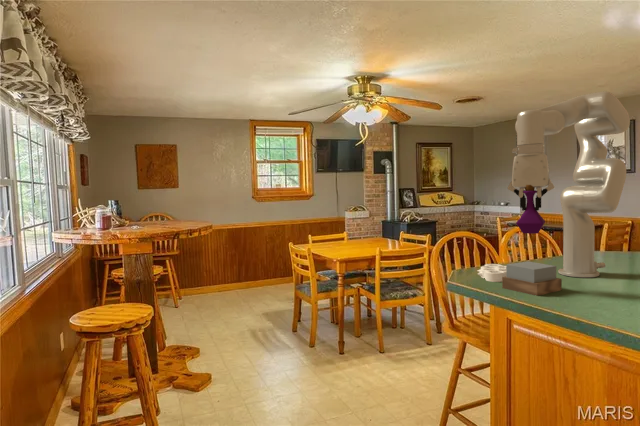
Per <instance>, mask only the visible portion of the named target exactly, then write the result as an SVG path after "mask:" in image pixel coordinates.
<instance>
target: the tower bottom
mask: <svg viewBox="0 0 640 426" xmlns="http://www.w3.org/2000/svg"><path fill="white" fill-rule="evenodd" d="M562 280H563V279H562V278H560V277H556V279H553V280H548V281H542V282H536V283H532V282H527V281H523V280H518V279H513V278H508V277H502V282H501V285H502V289H504V290H509V291H514V292H519V293H522V294H526V295H532V296H535V295H536V296H535V297H537V296H538V297H539V296H542V295H548V294H550V293H555V292H559V291H562V282H563V281H562Z"/></svg>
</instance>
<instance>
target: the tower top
mask: <svg viewBox="0 0 640 426" xmlns="http://www.w3.org/2000/svg"><path fill="white" fill-rule="evenodd" d="M505 266H506V277H508V278H513V279H518V280H523V281H527V282H532V283H536V282H542V281H548V280H553V279H556V278H557V265H552V264H547V263H539V262H534V261H522V262H515V263H507V264H506V265H505Z"/></svg>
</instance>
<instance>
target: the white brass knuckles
mask: <svg viewBox="0 0 640 426" xmlns="http://www.w3.org/2000/svg"><path fill="white" fill-rule="evenodd" d="M477 272H478V273H477V275H478V276H480V278H482V279H484V278H485V281H486V282H493V283H502V277H506V265H502V264H497V263H486V264H484V265H482V266H480V269H478V270H477Z"/></svg>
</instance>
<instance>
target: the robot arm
mask: <svg viewBox="0 0 640 426" xmlns="http://www.w3.org/2000/svg"><path fill="white" fill-rule="evenodd" d="M630 118H631V117H630V115H629V112H628V110H627V109H626V108H625V107H624V105H623V104H622V102H621V101H620V100H619V98H617V96H616V95H614V94H613V93H611V92H610V91H607V90H604V91H598V92H593V93H592V92H591V93H587V94H582V95H581V94H580V95H578V96H574V97H572V98H568V99H566V100H563V101H561V102H557V103H555V104H551V105H548V106H545V107H542V108H541V107H540V108H538V109H528V110H522V111H520V112H519V113H518V114H517V116H516V121H515V124H514V125H515V126H514V128H515V132H516V144H517V145H516V147H514V148H512V150H511V153H513V154H516V155H515V156H514V157H513V163H512V172H511V174H512V175H511V181H510V183H509V185H508V186H507V190H508V191H510V192H512V193H515V194H516V195H517V197H519V207H520V208H521V211H523V212H524V211H525V209H526V205H527V197H526V195H525V193H523V191H525V187H526V185H532V186H533V187H535V188H536V189H535V190H536V191H537V193H536V196H535V200H534V205H535V210H536V211H539V210H540V209H541V208H542V197H544V196H545V195H546V193H549V192H550V191H551V190H553V189H555V186H556V185H554V183H553V181H552V180H551V178H550V171H549V169H550V168H549V162H548V156H547V154H545V136H552V135H556V134H558V133H560V132H562V130H563V129H565V128H569V127H571V126H573V125H574V132H575V135H576V138H577V141H578V144H579V148H580V150H579V153H578V158H577V159H576V164H575V167H574V170H573V173H572V179H573V180H572V181H573V182H574V183H575V184H576V185H571V186H567V187H565V188H564V189H563V190H562V191H561V193H560V195H559V196H560V201H559V202H560V206H561V211H562V219H563V221H562V222H563V225H562V226H563V228H562V229H563V236H562V237H563V241H562V243H563V250H562V251H563V252H562V253H563V254H562V255H563V259H562V261H563V262H562V264H563V267H562V268H559V269H558V270H557V271H558V274H560V275H562V276H565V277H566V276H567V277H573V278H596V277H599V276H600V272H599V271H598V269H604V268H606V262H604V261H603V262H597V261H595V229H596V228H595V224H594V220H593V219H592V217H590V215H589V214H610V213H613V212H615V210H616V209H617V208H618V206H619V203H620V200H621V196H622V193H623V191H624V186H625V183H626V178H627V167H626V164H625V162H624V161H623V160H622V159H619V158H615V157H613V158H611V157H610V158H608V157H607V155H608V148H607V147H606V145H605V144H604V143H603V142H602V141H601V140H600V139H599V138H598V136H608V135H619V134H623V133H625V132H626V131H627V130H628V129H629V127H630V124H631V119H630ZM544 187H545V188H544Z"/></svg>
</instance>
